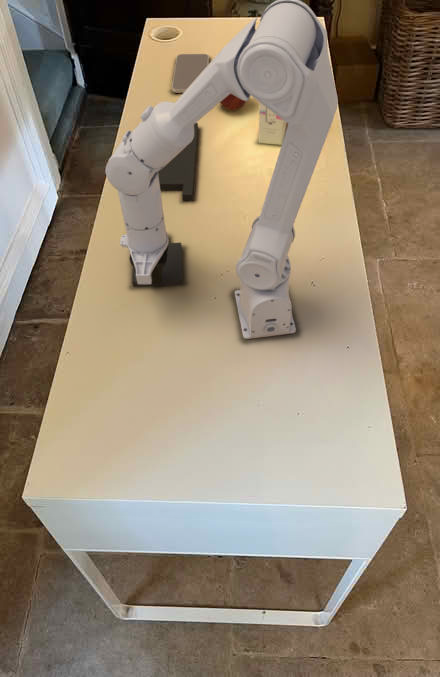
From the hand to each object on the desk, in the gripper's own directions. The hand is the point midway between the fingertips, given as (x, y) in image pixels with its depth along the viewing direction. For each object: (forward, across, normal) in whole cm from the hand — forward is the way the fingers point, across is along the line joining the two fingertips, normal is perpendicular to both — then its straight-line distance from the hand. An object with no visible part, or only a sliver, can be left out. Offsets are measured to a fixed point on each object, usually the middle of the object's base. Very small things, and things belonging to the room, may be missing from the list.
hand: (154, 281), depth 96 cm
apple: (+1, -50, +12) cm, 51 cm away
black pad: (+1, -31, 0) cm, 31 cm away
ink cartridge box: (+1, -41, +20) cm, 46 cm away
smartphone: (+1, -63, +3) cm, 63 cm away
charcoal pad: (+1, -5, 0) cm, 6 cm away
